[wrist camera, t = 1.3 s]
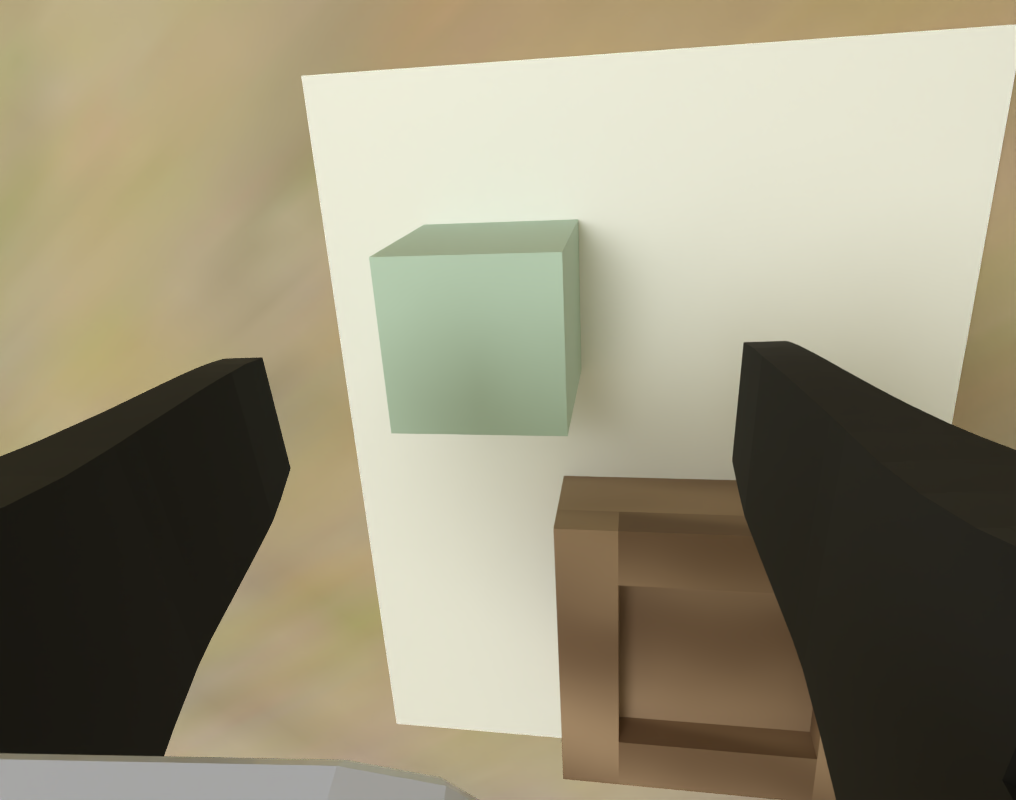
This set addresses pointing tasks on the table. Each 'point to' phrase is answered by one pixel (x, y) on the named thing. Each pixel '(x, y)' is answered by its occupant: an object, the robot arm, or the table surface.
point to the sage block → (480, 327)
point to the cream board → (644, 290)
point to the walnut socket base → (676, 645)
